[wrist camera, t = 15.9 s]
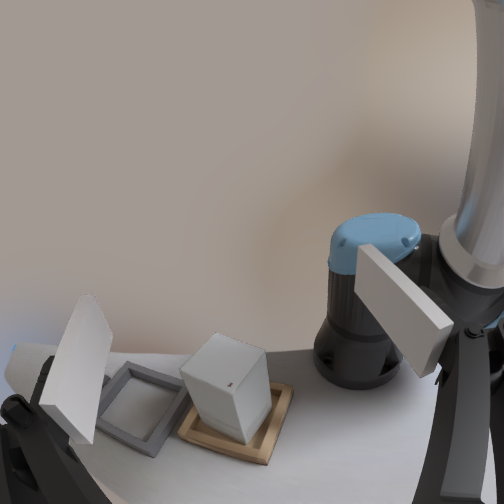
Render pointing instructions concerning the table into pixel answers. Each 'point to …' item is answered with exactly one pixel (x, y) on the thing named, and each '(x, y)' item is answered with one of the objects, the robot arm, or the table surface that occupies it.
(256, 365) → the supplement box
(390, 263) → the robot arm
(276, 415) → the wooden square tray
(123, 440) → the tray
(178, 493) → the table surface
